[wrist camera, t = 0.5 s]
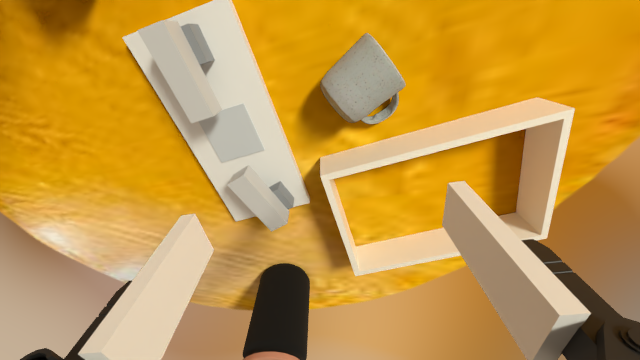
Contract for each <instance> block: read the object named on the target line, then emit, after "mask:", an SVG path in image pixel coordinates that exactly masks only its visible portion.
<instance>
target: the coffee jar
mask: <svg viewBox="0 0 640 360" xmlns="http://www.w3.org/2000/svg"><path fill="white" fill-rule="evenodd" d="M309 290H310V281H309V278H308V276H307V274H306V273H305V272H304V271H303V270H302V269H301V268H300V267H298V266H295V265H292V264H277V265H274V266H272V267H270V268H269V269H268V270H266V271H265V272H264V274H263V275H262V277H261V280H260V284H259V288H258V293H257V297H256V301H255V305H254V309H253V313H252V317H251V321H250V325H249V329H248V334H247V338H246V342H245V346H244V350H243V357H244V359H243V360H306V357H307V337H308V336H307V335H308V313H309Z"/></svg>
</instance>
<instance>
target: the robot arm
mask: <svg viewBox="0 0 640 360" xmlns="http://www.w3.org/2000/svg"><path fill="white" fill-rule="evenodd" d="M442 226H443V227H444V229H445V230H446V232H447V233H448V235H449V237H450V238H451V240H452V241H453V243H454V245H455V246H456V248H457V249H458V251H459V252H460V254H461V256H462V257H463V259H464V260H465V262H466V264H467V265H468V267H469V268H470V270H471V272H472V273H473V275H474V276H475V278H476V279H477V281H478V283H479V284H480V286H481V287H482V289H483V291H484V292H485V294H486V295H487V297H488V299H489V300H490V302H491V303H492V305H493V306H494V308H495V309H496V311H497V313H498V314H499V316H500V317H501V319H502V321H503V322H504V324H505V326H506V327H507V329H508V330H509V332H510V333H511V335H512V337H513V338H514V340H515V341H516V343H517V344H518V346H519V348H520V349H521V351H522V352H523V354H524V356H525V357H526V359H527V360H558V358H559V357H560V355H561V354H563V355H564V356H565V358H566V359H567V360H640V323H639V322H637V321H633V320H630V319H626V318H623V317H622V316H621V315H619V314H618V313H617V312H616V311H615V310H614V309H613V308H612V307H611V306H610V305H608V304H607V303H606V302H605V301H604V300H603V299H602V298H601V297H600V296H599V295H598V294H597V293H596V292H595V291H594V290H593V289H591V287H590V286H588V285H587V284H586V283H585V282H584V281H583V280H582V279H581V278H580V277H579V276H578V275H577V274H576V273H573V272H572V269H570V268H569V267H568V266H567V265H566V264H565V263H563V262H562V260H561V259H560V258H559V257H558V256H557V255H556V254H555V253H554V252H553V251H552V250H550V249H549V248H548V247H546V246H544V245H543V244H541V243H539V242H538V241H536V240H534V239H527V240H520V239H519V238H518V237H517V235H516V234H515V233H514V232H513V231H512V230H511V229H510V228H509V227H508V226H507V225H506V224H505V223H504V222H503V221H502V220H501V219H500V218H499V217H498V216H497V215H496V214H495V213H494V212H493V210H492V209H491V208H490V207H489V206H488V205H487V204H486V203H485V202H484V201H483V200H482V199H481V198H480V197H479V196H478V195H477V194H476V193H475V192H474V191H473V190H472V189H471V188H470V187H469V186H468V184H467V183H466V182H465V181H460V182H452V183H448V188H447V195H446V202H445V209H444V216H443V223H442ZM213 251H214V249H213V247H212V245H211V243H210V241H209V239H208V238H207V236H206V234H205V232H204V230H203V228H202V226H201V224H200V222H199V220H198V218H197V216H196V215H195V214H189V215H181V217H180V218H179V219H178V221H177V222H176V223H175V225H174V226H173V227H172V229H171V230H170V231H169V233H168V234H167V235H166V237H165V238H164V239H163V241H162V242H161V243H160V245H159V246H158V247H157V249H156V250H155V251H154V253H153V254H152V255H151V257H150V258H149V259H148V261H147V262H146V263H145V265H144V266H143V267H142V269H141V270H140V271H139V273H138V274H137V275H136V277H135V278H134V279H133V281H128V282H127V283H126V284H125V285H124V286H123V287H122V288H120V289H119V290H118V291H117V292H116V293H115V295H114V296H113V297H112V298H111V300H110V301H109V302H108V304H107V306H106V307H104V309H103V310H102V311H101V312H100V314H99V317H97V318H96V319H95V320H94V322H93V323H92V324H91V325H90V327H89V328H88V329H87V330H86V332H85V333H84V334H83V336H82V337H81V338H80V339H79V341H78V342H77V343H76V345H75V346H74V347H73V348H72V350H71V351H70V352H69V354H68V355H67V356H66V357H65V358H64V359H63V358H61V357H60V356H58V355H57V354H55V353H54V352H53V351H51V350H49V349H46V348H44V349H40V350H36V351H34V352H32V353H30V354H28V355H26V356H25V357H23V358H22V359H20V360H161V359H162V357H163V355H164V353H165V350H166V348H167V346H168V344H169V342H170V340H171V338H172V336H173V334H174V332H175V330H176V328H177V326H178V324H179V322H180V319H181V317H182V315H183V313H184V311H185V309H186V307H187V305H188V303H189V301H190V299H191V297H192V295H193V293H194V290H195V288H196V286H197V284H198V282H199V280H200V278H201V276H202V274H203V272H204V270H205V268H206V266H207V264H208V261H209V259H210V257H211V255H212V253H213Z"/></svg>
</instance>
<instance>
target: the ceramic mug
mask: <svg viewBox="0 0 640 360" xmlns="http://www.w3.org/2000/svg"><path fill="white" fill-rule="evenodd" d="M404 87H405V81H404V79H403V78H402V76H401V74H400V73H399V71H398V70H397V68H396V67H395V65H394V64H393V63H392V61H391V60H390V58H389V57H388V56H387V54H386V53H385V51H384V50H383V49H382V47H381V46H380V45H379V44H378V43H377V42H376V40H375V39H374V38H373V37H372V36H371V35H370V34H368V33H366V34H364V35H363V36H362V37H361V38H360V39H359V40H358V41H357V42H356V43H355V44H354V45H353V46H352V47H351V48H350V50H349V51H348V52H347V53H346V54H345V55H344V56H343V57H342V58H341V59H340V60H339V61H338V62H337V63H336V64H335V65H334V66H333V67H332V68H331V69H330V70H329V71H328V72H327V73H326V75H325V76H324V77H323V79H322V80H321V84H320V88H321V90H322V92H323V94H324V96H325V97H326V99H327V100H328V102H329V103H330V104H331V106H332V107H333V108H334V109H335V110H336V112H337V113H338V114H339V115H340V116H341V117H342V118H343V119H345V120H346V121H347V122H350V123H355V122H357V121H359V120H361V121H363V122H364V123H367V124H376V123H379V122H381V121H384V120H385V119H387V118H388V117H389V116H391V115H392V114H393V112H394V111H395V110H396V108H397V106H398V101H399V96H398V92H399V91H400V90H402V89H403V88H404ZM392 96H393V97H392ZM391 97H392V100H391V103H390V104H389V105H388V107H386V108H385V109H384V110H382V111H381V112H379V113H378V114H375V115H374V116H371V117H367V115H368V114H370V113H371V112H372V111H373V110H374V109H376V108H377V107H378V106H380V105H381V104H382V103H384V102H385V101H387V100H388V99H389V98H391Z"/></svg>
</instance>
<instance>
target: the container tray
mask: <svg viewBox="0 0 640 360" xmlns="http://www.w3.org/2000/svg"><path fill="white" fill-rule="evenodd" d="M574 110H575V108H572V107H569V106H565V105H562V104H558V103H555V102H551V101H548V100H545V99H541V98H538V97H537V98H533V99H529V100H526V101H522V102H519V103H515V104H511V105H508V106H504V107H500V108H497V109H493V110H490V111H486V112H482V113H479V114H475V115H472V116H468V117H464V118H461V119H457V120H454V121H450V122H446V123H443V124H439V125H436V126H432V127H428V128H425V129H421V130H418V131H414V132H410V133H407V134H403V135H400V136H396V137H392V138H389V139H385V140H382V141H378V142H374V143H371V144H367V145H364V146H360V147H356V148H353V149H349V150H346V151H342V152H338V153H335V154H331V155H327V156H324V157H320V177H321V180H322V183H323V186H324V188H325V191H326V194H327V197H328V200H329V203H330V205H331V208H332V211H333V214H334V217H335V220H336V222H337V225H338V228H339V231H340V234H341V237H342V239H343V242H344V245H345V248H346V251H347V254H348V257H349V259H350V262H351V265H352V268H353V271H354V274H355V276H358V275H363V274H368V273H374V272H379V271H384V270H389V269H394V268H399V267H404V266H409V265H414V264H419V263H424V262H429V261H434V260H439V259H444V258H449V257H454V256H460V255H461V254H460V252H459V251H458V249H457V248H456V246H455V245H454V243H453V241H452V240H451V238H450V237H449V235H448V233H447V232H446V230H445V229H444V228H440V229H436V230H431V231H426V232H422V233H417V234H413V235H408V236H403V237H399V238H394V239H389V240H385V241H380V242H375V243H371V244H366V245H362V246H357V247H355V244H354V241H353V237H352V234H351V231H350V228H349V225H348V222H347V219H346V216H345V213H344V210H343V206H342V203H341V200H340V197H339V194H338V191H337V188H336V185H335V182H334V179H335V178H339V177H343V176H347V175H351V174H354V173H358V172H362V171H366V170H370V169H373V168H377V167H381V166H385V165H389V164H393V163H396V162H400V161H404V160H408V159H412V158H415V157H419V156H423V155H427V154H431V153H435V152H438V151H442V150H446V149H450V148H454V147H458V146H461V145H465V144H469V143H473V142H477V141H480V140H484V139H488V138H492V137H496V136H500V135H503V134H507V133H511V132H515V131H519V130H523V129H526V133H525V141H524V149H523V158H522V166H521V174H520V183H519V191H518V199H517V207H516V212H514V213H510V214H505V215H501V216H498V217H499V218H500V219H501V220H502V221H503V222H504V223H505V224H506V225H507V226H508V227H509V228H510V229H511V230H512V231H513V232H514V233H515V234H516V235H517V237H518V238H519V239H520V240H527V239H534V240H540V239H545V238H547V235H548V231H549V226H550V222H551V217H552V212H553V208H554V203H555V198H556V194H557V189H558V184H559V180H560V175H561V171H562V166H563V161H564V157H565V152H566V147H567V143H568V138H569V133H570V129H571V124H572V119H573V115H574Z"/></svg>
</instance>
